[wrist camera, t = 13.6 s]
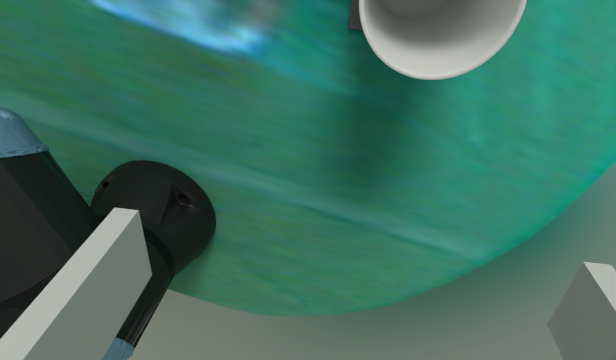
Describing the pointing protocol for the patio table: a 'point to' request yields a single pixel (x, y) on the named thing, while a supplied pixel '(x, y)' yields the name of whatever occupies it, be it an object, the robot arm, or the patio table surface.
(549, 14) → the patio table surface
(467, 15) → the cup
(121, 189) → the robot arm
